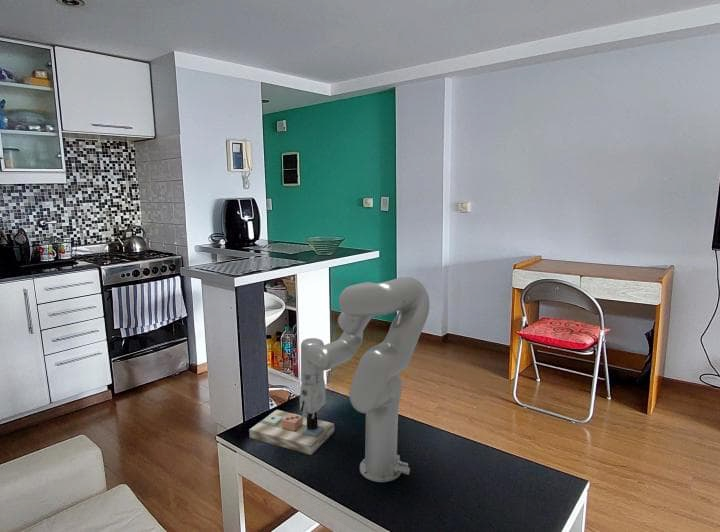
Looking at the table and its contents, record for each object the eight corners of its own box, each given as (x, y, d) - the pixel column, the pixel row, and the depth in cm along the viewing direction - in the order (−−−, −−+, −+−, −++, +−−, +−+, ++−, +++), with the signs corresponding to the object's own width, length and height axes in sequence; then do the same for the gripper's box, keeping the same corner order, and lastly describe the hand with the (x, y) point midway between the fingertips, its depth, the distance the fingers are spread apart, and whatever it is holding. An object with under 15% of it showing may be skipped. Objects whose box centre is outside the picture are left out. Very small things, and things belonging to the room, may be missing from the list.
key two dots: (322, 435, 156) (322, 426, 155) (315, 442, 151) (315, 433, 151) (310, 431, 158) (310, 423, 157) (302, 438, 153) (302, 429, 153)
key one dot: (283, 424, 162) (283, 416, 162) (274, 431, 158) (274, 422, 157) (271, 421, 164) (271, 413, 164) (262, 428, 160) (262, 419, 159)
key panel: (334, 431, 160) (334, 423, 160) (311, 454, 146) (311, 446, 145) (276, 417, 170) (276, 409, 169) (249, 437, 155) (249, 429, 155)
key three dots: (302, 424, 159) (302, 416, 158) (294, 431, 154) (294, 422, 154) (290, 421, 161) (290, 413, 160) (282, 428, 156) (282, 419, 156)
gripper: (310, 386, 143) (310, 441, 146) (332, 370, 156) (332, 420, 159) (290, 382, 146) (290, 435, 149) (313, 366, 159) (313, 415, 162)
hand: (312, 427), depth 154 cm, fingers closed
